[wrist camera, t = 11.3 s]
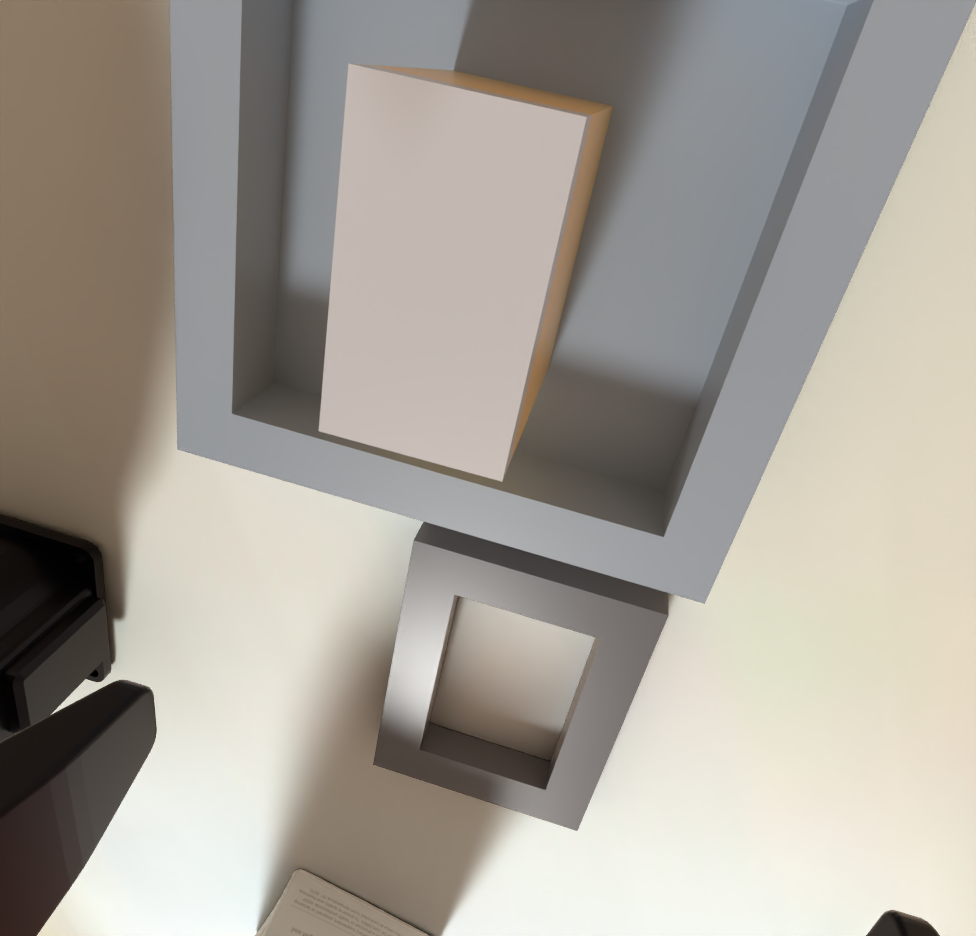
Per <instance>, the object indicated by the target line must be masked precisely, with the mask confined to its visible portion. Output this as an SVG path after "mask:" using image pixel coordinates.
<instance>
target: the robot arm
mask: <svg viewBox="0 0 976 936" xmlns="http://www.w3.org/2000/svg"><path fill="white" fill-rule="evenodd" d="M110 672H111V660H110V648H109V636H108V624H107V612H106V600H105V589H104V577H103V565H102V556H101V552H100V551H99V549H98V548H97V547H96V546H95V545H94V544H93V543H90V542H88V541H85V540H82V539H79V538H76V537H72V536H69V535H66V534H63V533H59V532H56V531H53V530H50V529H47V528H43V527H40V526H37V525H34V524H30V523H27V522H24V521H21V520H17V519H14V518H11V517H8V516H4V515H1V514H0V936H37V935H38V933H39V932H40V930H41V929H42V927H43V926H44V925H45V923H46V922H47V920H48V919H49V917H50V916H51V915H52V913H53V912H54V910H55V909H56V907H57V906H58V905H59V903H60V902H61V900H62V899H63V897H64V896H65V895H66V893H67V892H68V890H69V889H70V887H71V886H72V884H73V883H74V881H75V880H76V878H77V877H78V875H79V874H80V872H81V871H82V869H83V868H84V866H85V865H86V863H87V861H88V860H89V858H90V856H91V855H92V853H93V851H94V850H95V848H96V846H97V845H98V843H99V841H100V839H101V838H102V836H103V834H104V832H105V830H106V829H107V827H108V825H109V823H110V822H111V820H112V818H113V816H114V815H115V813H116V811H117V809H118V808H119V806H120V804H121V802H122V801H123V799H124V797H125V795H126V793H127V792H128V790H129V788H130V786H131V785H132V783H133V781H134V779H135V778H136V776H137V774H138V772H139V771H140V769H141V767H142V765H143V763H144V762H145V760H146V758H147V756H148V755H149V753H150V751H151V749H152V747H153V744H154V742H155V738H156V731H157V728H156V717H155V705H154V695H153V692H152V690H151V689H150V688H149V687H147V686H144V685H141V684H138V683H134V682H131V681H128V680H118V681H115V682H112V683H110V684H108V685H107V686H105V687H103V688H101V689H99V690H97V691H95V692H93V693H91V694H90V695H88V696H86V697H84V698H82V699H80V700H78V701H76V702H74V703H73V704H71V705H69V706H67V707H65V708H63V709H61V710H59V711H57V712H55V713H54V714H52V713H53V712H54V711H55V710H56V709H57V707H58V706H59V705H60V704H61V703H62V702H63V701H64V700H65V699H66V698H67V697H68V696H69V695H70V694H71V693H72V692H73V691H74V690H75V689H76V688H77V687H78V686H79V685H80V684H81V683H82V682H83V681H84V680H85V679H88V680H91V681H95V682H101V681H102V680H103V679H104V678H105V677H106V676H107V675H108V674H109V673H110ZM51 714H52V715H51ZM866 936H940V935H939V934H938V932H937V931H936V930H935V929H934V928H933V927H932V926H931V925H930V924H929V923H928V922H927V921H925V920H923V919H921V918H919V917H915V916H912V915H909V914H905V913H902V912H899V911H895V910H890V911H887V912H885V913H884V914H883V915H882V916H881V917H880V918H879V920H878V921H877V922H876V924H875V925H874V926H873V928H872V929H871V930H870V931H869V933H868V934H867V935H866Z"/></svg>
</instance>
